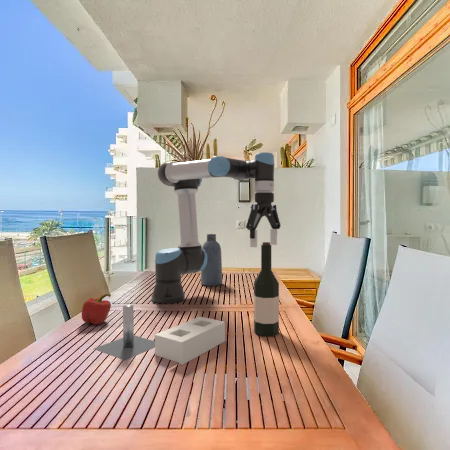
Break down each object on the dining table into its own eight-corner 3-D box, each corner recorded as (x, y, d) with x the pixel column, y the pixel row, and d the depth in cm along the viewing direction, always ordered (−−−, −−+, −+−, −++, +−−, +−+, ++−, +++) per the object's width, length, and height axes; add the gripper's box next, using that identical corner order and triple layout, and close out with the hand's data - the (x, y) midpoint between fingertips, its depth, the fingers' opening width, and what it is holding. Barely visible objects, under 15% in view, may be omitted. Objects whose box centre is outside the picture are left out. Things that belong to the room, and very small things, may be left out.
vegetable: (105, 316, 130) (105, 290, 130) (118, 322, 123) (117, 295, 122) (76, 322, 122) (76, 295, 122) (88, 329, 115) (87, 300, 115)
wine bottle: (280, 329, 114) (281, 241, 113) (276, 338, 106) (276, 243, 105) (257, 327, 117) (256, 241, 116) (250, 335, 109) (250, 243, 108)
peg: (121, 346, 99) (120, 306, 99) (129, 343, 101) (128, 303, 101) (127, 348, 97) (127, 307, 97) (136, 345, 100) (135, 305, 99)
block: (182, 365, 87) (181, 342, 87) (154, 356, 93) (154, 334, 93) (225, 341, 104) (225, 321, 104) (199, 334, 110) (199, 316, 109)
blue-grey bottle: (226, 283, 192) (226, 234, 191) (214, 287, 182) (214, 235, 181) (209, 281, 199) (208, 233, 198) (196, 284, 188) (196, 234, 188)
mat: (93, 349, 97) (93, 348, 97) (131, 335, 109) (131, 334, 109) (125, 361, 90) (125, 360, 90) (162, 344, 101) (162, 343, 101)
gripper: (252, 190, 121) (252, 248, 122) (289, 193, 140) (288, 244, 140) (236, 191, 126) (236, 247, 127) (274, 194, 145) (273, 243, 145)
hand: (264, 245), depth 134 cm, fingers open, 13 cm apart
